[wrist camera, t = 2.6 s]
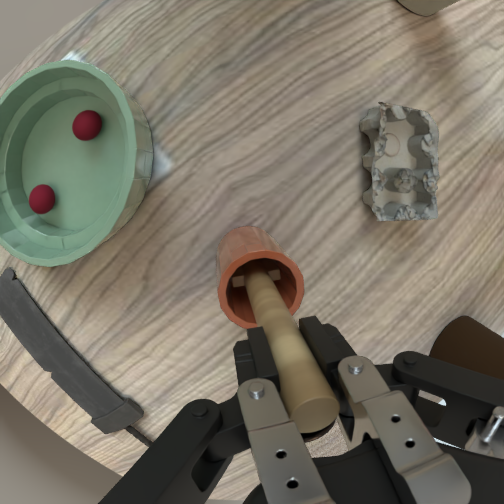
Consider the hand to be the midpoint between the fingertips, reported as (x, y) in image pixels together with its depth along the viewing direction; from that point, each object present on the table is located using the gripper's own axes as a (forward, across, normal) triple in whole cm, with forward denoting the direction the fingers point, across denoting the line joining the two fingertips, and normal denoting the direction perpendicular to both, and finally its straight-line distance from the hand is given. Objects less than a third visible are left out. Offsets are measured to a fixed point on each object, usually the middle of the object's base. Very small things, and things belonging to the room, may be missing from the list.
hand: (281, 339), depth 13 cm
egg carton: (+14, -15, -7) cm, 22 cm away
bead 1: (+12, +17, -8) cm, 22 cm away
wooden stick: (+13, 0, 0) cm, 13 cm away
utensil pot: (+14, 0, 0) cm, 14 cm away
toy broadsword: (+14, +20, +13) cm, 27 cm away
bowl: (+14, +14, -11) cm, 22 cm away
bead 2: (+12, +12, -14) cm, 21 cm away
